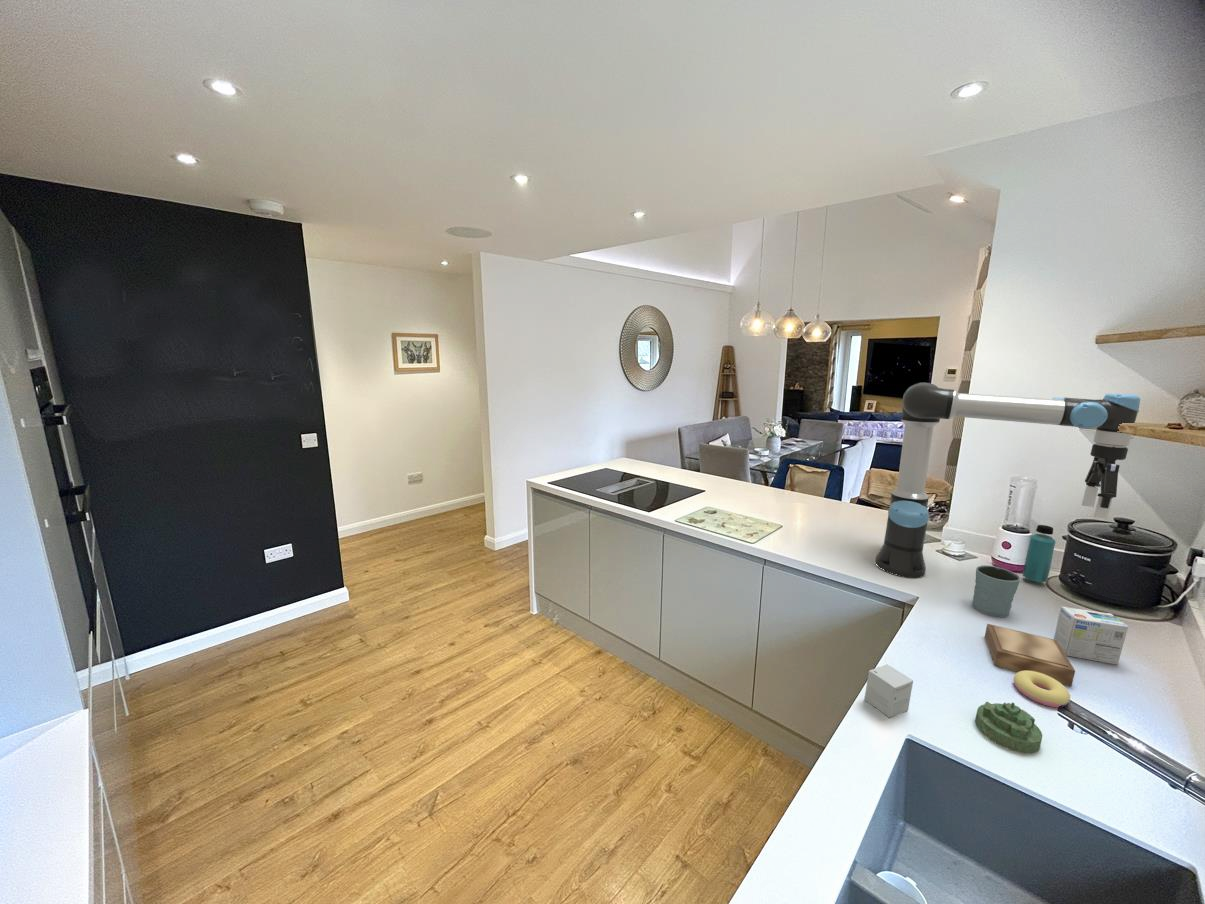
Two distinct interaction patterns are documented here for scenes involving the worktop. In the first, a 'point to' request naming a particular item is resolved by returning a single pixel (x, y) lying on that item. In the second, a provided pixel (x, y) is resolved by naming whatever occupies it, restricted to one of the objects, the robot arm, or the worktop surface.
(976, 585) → the green plant pot
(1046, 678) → the donut
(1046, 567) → the beverage bottle
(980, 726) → the decorative artifact
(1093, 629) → the light bulb box
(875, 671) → the grey cube-like block
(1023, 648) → the base
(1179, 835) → the worktop surface
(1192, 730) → the worktop surface
